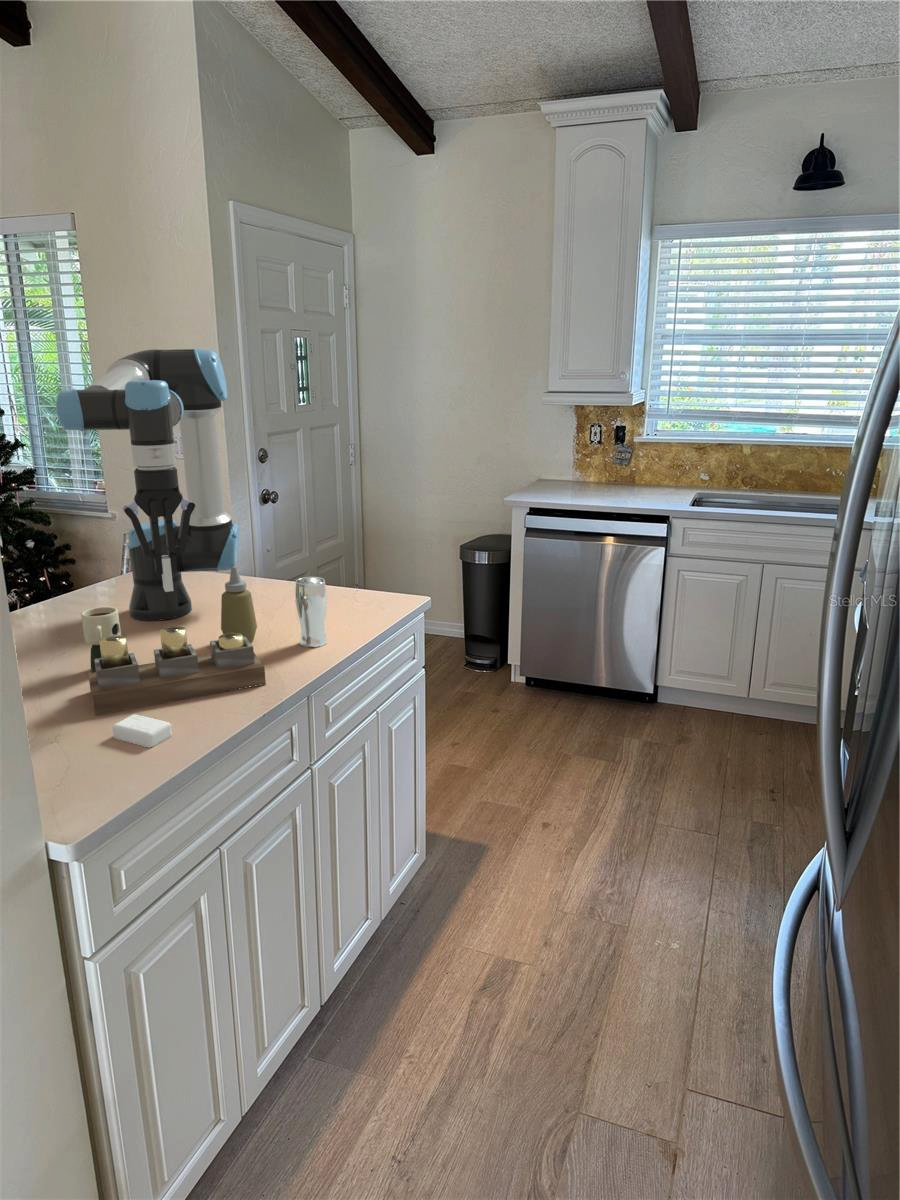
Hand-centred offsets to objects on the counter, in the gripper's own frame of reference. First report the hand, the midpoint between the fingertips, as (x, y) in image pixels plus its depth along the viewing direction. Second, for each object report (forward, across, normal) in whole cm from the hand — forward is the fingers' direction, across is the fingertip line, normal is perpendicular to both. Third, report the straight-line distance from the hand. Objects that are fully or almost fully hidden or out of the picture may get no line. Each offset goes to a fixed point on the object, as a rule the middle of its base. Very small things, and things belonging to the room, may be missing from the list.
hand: (168, 589), depth 159 cm
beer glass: (+21, +32, +13) cm, 40 cm away
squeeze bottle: (+21, +17, +21) cm, 34 cm away
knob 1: (+13, -11, 0) cm, 17 cm away
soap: (+21, -9, -19) cm, 30 cm away
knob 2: (+16, +11, 0) cm, 20 cm away
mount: (+21, 0, 0) cm, 21 cm away
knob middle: (+13, 0, 0) cm, 13 cm away
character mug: (+21, -12, +17) cm, 29 cm away
